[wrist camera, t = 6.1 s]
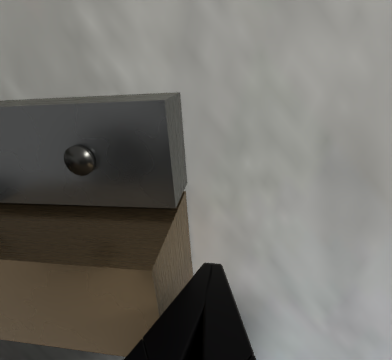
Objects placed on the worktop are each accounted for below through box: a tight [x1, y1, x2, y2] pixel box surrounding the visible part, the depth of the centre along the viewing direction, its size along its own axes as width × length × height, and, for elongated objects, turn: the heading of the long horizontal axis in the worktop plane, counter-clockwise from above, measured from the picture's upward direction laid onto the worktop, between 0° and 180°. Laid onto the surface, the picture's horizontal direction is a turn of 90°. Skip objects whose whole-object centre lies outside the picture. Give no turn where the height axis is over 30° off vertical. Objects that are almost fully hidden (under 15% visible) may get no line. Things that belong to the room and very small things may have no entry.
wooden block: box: [0, 191, 193, 357], centre depth 11 cm, size 8×16×4 cm, turn 93°
